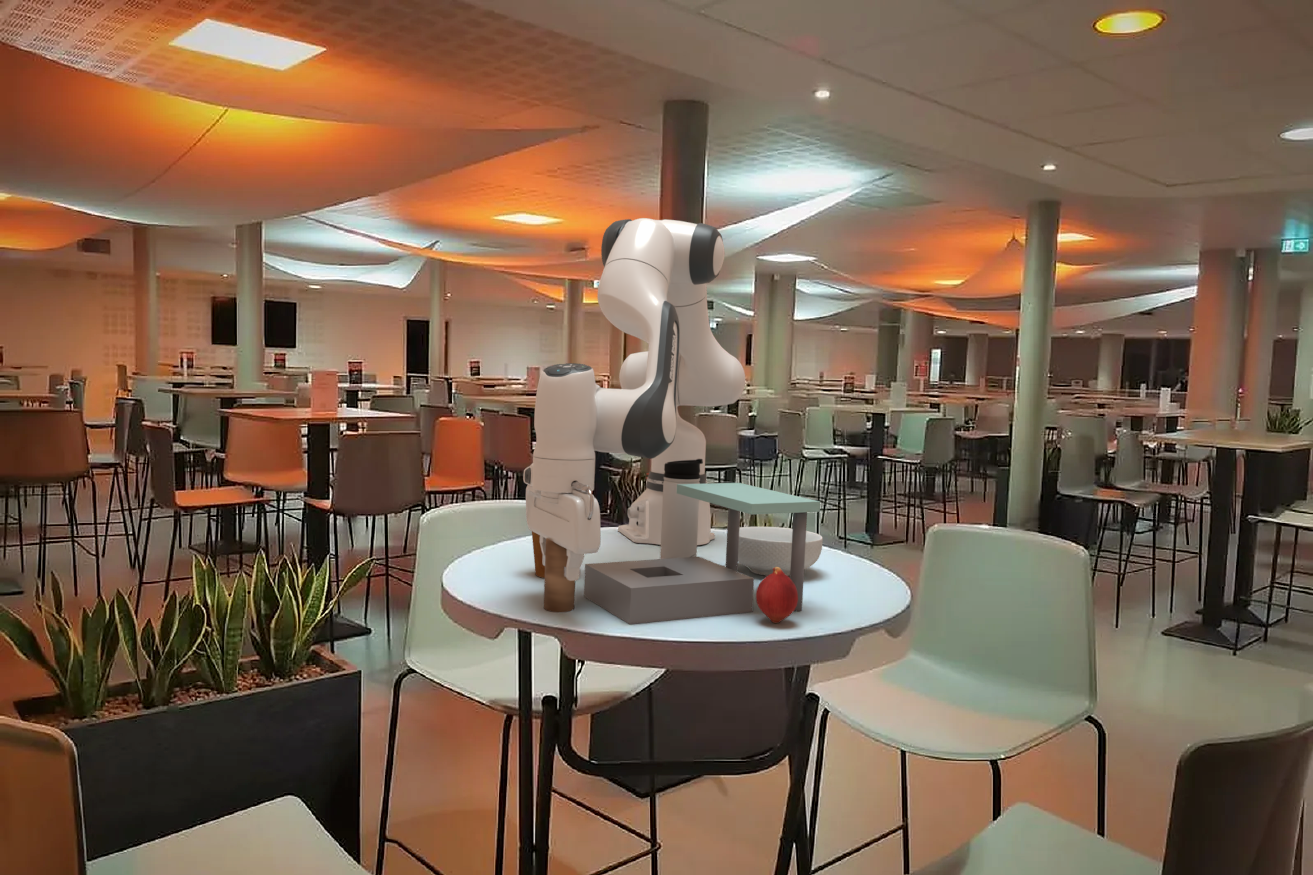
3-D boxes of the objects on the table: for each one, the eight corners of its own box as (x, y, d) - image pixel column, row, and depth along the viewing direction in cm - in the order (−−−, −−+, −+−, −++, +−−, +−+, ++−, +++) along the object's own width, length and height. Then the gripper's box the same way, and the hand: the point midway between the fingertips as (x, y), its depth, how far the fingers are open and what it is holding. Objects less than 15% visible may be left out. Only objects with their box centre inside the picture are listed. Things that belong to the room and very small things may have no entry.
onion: (774, 615, 131) (776, 560, 130) (805, 624, 126) (807, 568, 126) (746, 621, 127) (749, 565, 126) (777, 630, 123) (780, 573, 122)
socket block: (583, 596, 137) (585, 564, 137) (697, 586, 146) (698, 556, 146) (629, 624, 123) (631, 588, 122) (752, 611, 132) (753, 578, 132)
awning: (672, 584, 147) (676, 484, 146) (734, 579, 153) (739, 482, 152) (746, 618, 128) (752, 503, 127) (814, 611, 134) (820, 501, 132)
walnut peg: (539, 605, 131) (541, 537, 130) (567, 603, 133) (569, 536, 132) (550, 613, 127) (552, 543, 126) (578, 610, 129) (581, 541, 128)
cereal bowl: (840, 576, 159) (842, 536, 159) (776, 587, 148) (778, 545, 148) (770, 558, 172) (771, 522, 172) (706, 567, 161) (708, 528, 161)
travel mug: (694, 578, 152) (699, 460, 151) (656, 575, 154) (661, 458, 152) (700, 571, 158) (705, 457, 157) (663, 567, 160) (668, 455, 158)
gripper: (614, 486, 121) (610, 587, 122) (558, 469, 139) (555, 557, 140) (570, 487, 118) (566, 591, 119) (519, 469, 136) (516, 560, 137)
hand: (560, 572), depth 129 cm, fingers open, 7 cm apart
